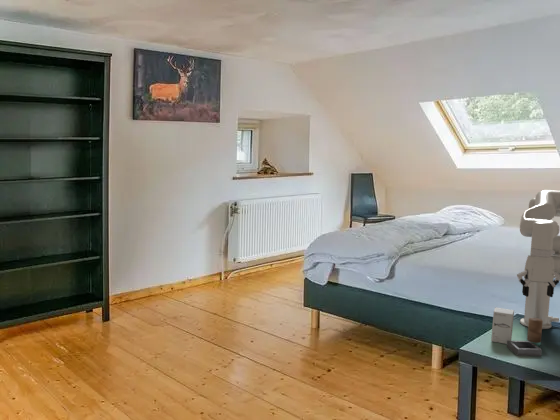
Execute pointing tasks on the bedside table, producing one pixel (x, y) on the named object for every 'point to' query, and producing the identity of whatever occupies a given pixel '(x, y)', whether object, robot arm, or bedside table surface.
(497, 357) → the bedside table surface
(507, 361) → the bedside table surface
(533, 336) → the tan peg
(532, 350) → the socket
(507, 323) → the supplement box
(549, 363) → the bedside table surface
